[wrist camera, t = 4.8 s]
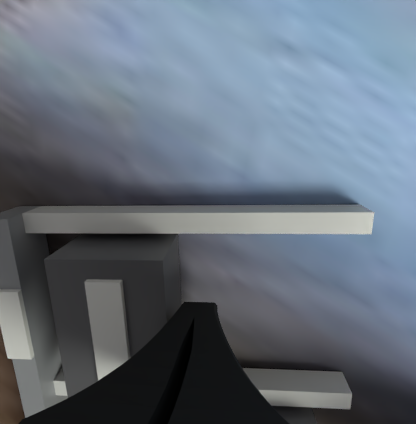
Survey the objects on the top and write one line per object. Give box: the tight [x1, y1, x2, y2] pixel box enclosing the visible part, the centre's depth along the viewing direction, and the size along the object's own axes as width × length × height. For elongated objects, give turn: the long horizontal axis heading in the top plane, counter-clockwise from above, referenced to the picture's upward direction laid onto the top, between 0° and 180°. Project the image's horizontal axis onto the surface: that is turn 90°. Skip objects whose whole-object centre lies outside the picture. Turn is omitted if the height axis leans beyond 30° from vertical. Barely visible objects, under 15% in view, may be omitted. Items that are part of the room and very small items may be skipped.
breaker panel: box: [0, 205, 374, 418], centre depth 13 cm, size 16×14×2 cm
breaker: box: [44, 233, 182, 398], centre depth 12 cm, size 6×4×3 cm, turn 1°
